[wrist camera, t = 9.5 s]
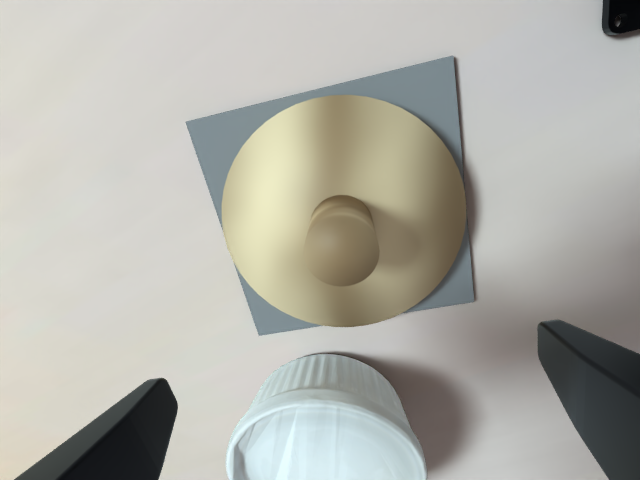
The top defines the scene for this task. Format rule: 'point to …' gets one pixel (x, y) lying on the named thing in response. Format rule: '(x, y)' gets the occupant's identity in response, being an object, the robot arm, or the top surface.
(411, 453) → the ramekin
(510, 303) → the top surface
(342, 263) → the lid
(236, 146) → the mat
